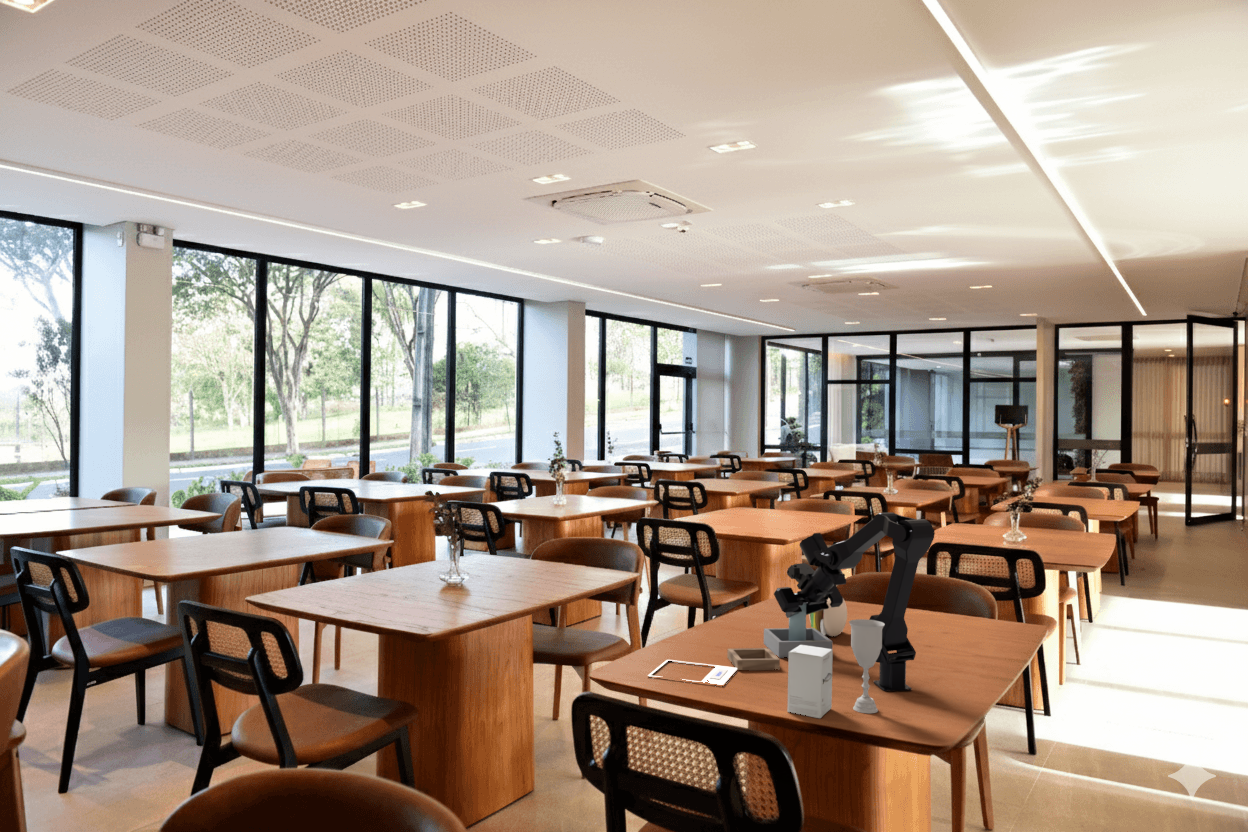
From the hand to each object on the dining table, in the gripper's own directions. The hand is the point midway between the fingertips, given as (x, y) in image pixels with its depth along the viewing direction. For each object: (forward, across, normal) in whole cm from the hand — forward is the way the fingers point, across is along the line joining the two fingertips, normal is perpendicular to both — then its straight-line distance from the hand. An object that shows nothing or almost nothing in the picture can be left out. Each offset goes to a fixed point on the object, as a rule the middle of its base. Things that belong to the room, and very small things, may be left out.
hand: (794, 615), depth 228 cm
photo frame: (+1, +36, +12) cm, 38 cm away
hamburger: (+12, -18, +1) cm, 22 cm away
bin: (+5, 0, +7) cm, 9 cm away
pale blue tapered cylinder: (+4, 0, +6) cm, 7 cm away
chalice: (-25, +16, +38) cm, 48 cm away
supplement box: (-22, +27, +35) cm, 49 cm away
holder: (+1, +18, +11) cm, 22 cm away
